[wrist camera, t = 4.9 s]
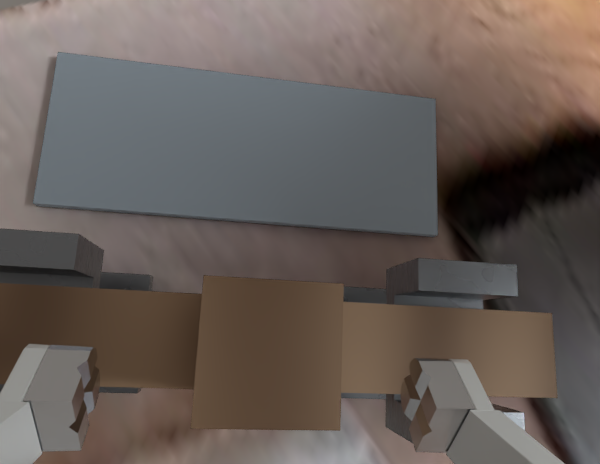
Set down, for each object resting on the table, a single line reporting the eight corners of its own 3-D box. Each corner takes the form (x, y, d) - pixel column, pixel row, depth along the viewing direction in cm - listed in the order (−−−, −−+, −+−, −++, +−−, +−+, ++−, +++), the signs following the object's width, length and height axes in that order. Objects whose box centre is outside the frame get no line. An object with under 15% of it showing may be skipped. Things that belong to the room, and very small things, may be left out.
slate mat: (431, 103, 31) (435, 98, 30) (433, 236, 29) (437, 235, 29) (61, 57, 28) (58, 51, 27) (37, 205, 26) (32, 203, 25)
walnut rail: (504, 315, 20) (716, 306, 12) (507, 387, 20) (734, 435, 11) (-54, 285, 17) (-340, 242, 8) (-71, 371, 16) (-398, 421, 8)
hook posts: (426, 288, 28) (540, 266, 18) (427, 402, 27) (551, 448, 17) (37, 264, 25) (-87, 222, 15) (17, 393, 24) (-135, 443, 14)
